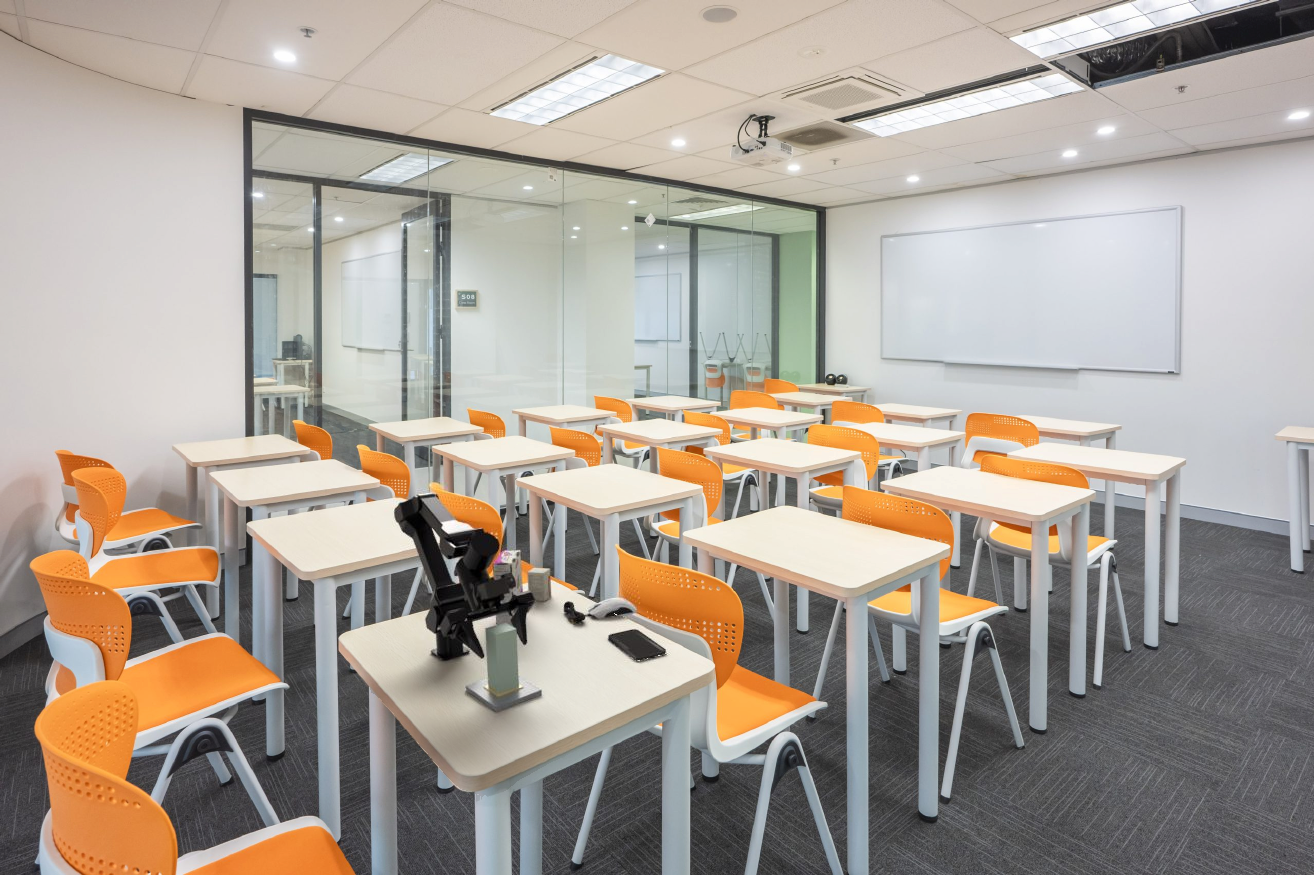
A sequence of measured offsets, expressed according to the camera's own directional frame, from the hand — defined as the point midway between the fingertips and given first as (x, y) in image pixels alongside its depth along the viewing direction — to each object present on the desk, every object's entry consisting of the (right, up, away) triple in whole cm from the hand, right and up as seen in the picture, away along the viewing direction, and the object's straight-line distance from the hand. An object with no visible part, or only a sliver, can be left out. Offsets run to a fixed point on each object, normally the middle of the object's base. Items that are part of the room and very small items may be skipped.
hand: (504, 650), depth 142 cm
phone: (+25, -6, +23) cm, 35 cm away
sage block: (-1, -8, +2) cm, 8 cm away
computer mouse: (+16, -4, +44) cm, 46 cm away
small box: (-2, -2, +56) cm, 56 cm away
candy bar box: (-7, -4, +40) cm, 41 cm away
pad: (-1, -9, +2) cm, 9 cm away
